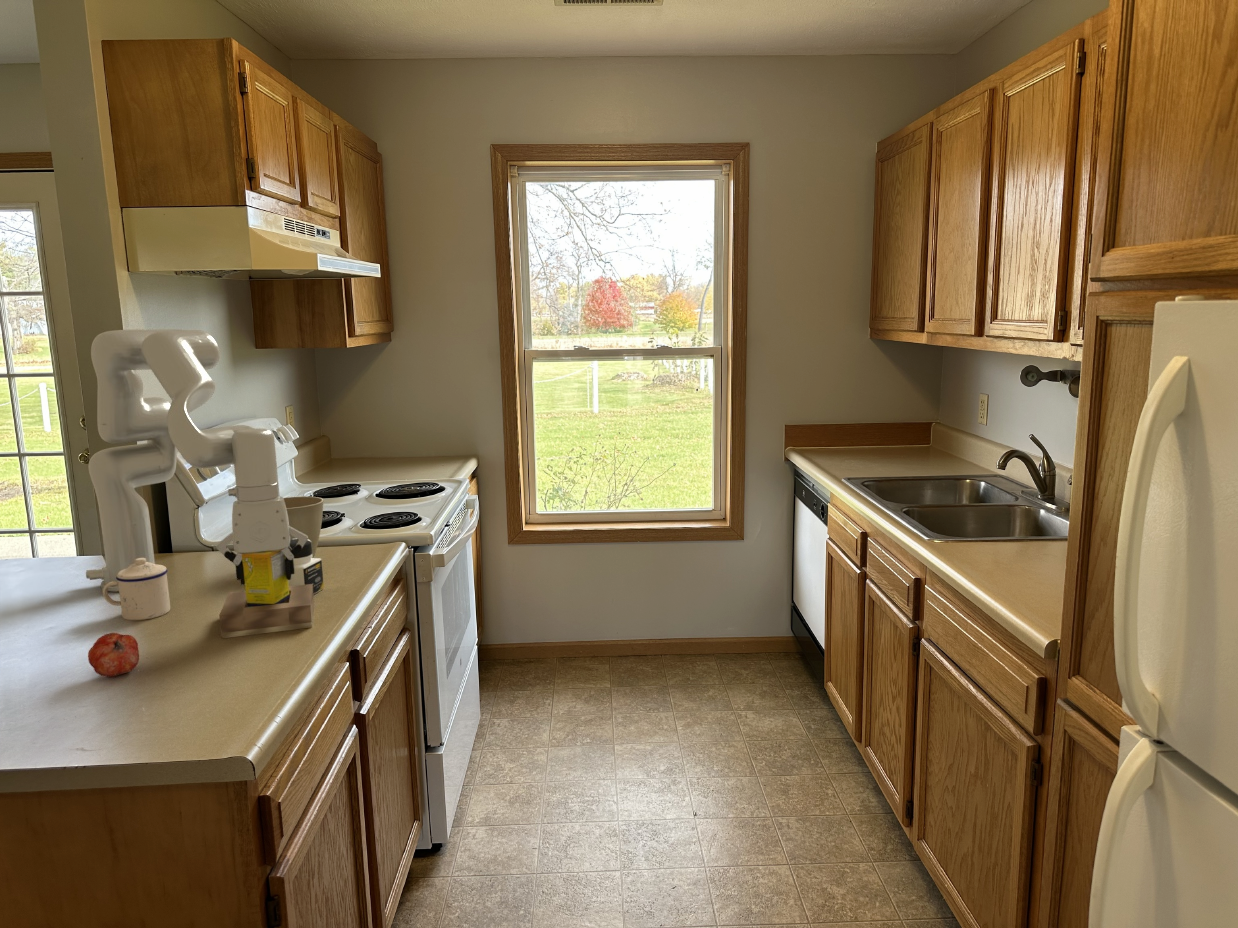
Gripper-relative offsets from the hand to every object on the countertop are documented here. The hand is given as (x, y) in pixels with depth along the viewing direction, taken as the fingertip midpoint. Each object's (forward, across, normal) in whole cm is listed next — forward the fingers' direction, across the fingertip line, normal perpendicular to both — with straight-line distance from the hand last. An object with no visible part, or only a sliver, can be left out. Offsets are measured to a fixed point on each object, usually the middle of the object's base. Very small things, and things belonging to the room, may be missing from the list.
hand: (266, 579), depth 164 cm
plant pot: (+9, +3, +39) cm, 40 cm away
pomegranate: (+9, -23, -18) cm, 30 cm away
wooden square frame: (+8, 0, 0) cm, 8 cm away
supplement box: (+5, 0, 0) cm, 5 cm away
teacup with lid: (+9, -26, +14) cm, 31 cm away
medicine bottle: (+9, +5, +16) cm, 19 cm away
